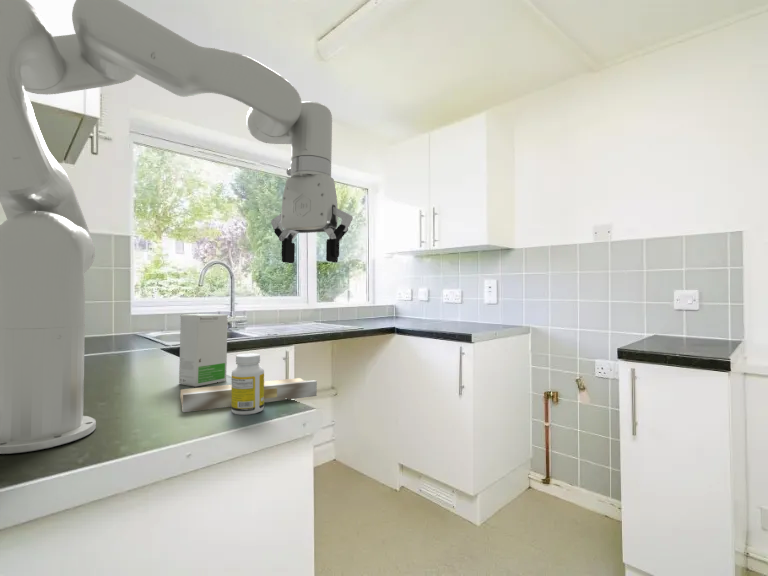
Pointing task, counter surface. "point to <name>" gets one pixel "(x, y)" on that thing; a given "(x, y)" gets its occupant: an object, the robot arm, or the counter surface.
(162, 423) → the counter surface
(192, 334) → the skincare box
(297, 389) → the shelf plank
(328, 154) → the robot arm
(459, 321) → the counter surface
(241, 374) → the supplement bottle
